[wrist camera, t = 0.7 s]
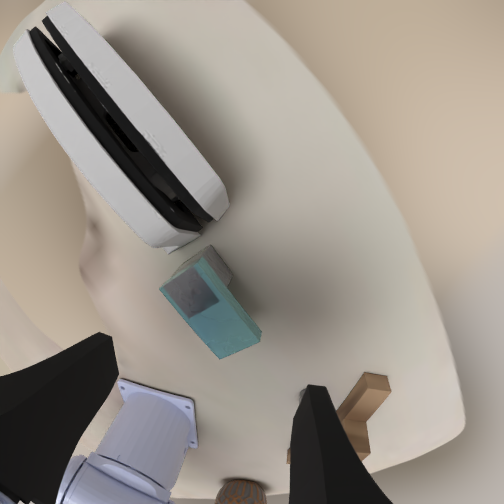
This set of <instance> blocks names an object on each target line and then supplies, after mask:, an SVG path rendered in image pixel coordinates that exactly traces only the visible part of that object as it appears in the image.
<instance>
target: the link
mask: <svg viewBox="0 0 504 504" xmlns="http://www.w3.org/2000/svg"><path fill="white" fill-rule="evenodd" d="M390 393H391V389H390V385H389V382H388V378H387V376H382V375H376V374H371V373H365V372H364V374H363V375H362V377H361V378H360V380H359V381H358V383H357V384H356V385H355V387H354V388H353V390H352V391H351V392H350V394H349V395H348V396H347V398H346V399H345V401H344V402H343V403H342V405H341V406H340V407H339V408H338V410H337V411H336V413H337V415H338V417H339V419H340V422H341V424H342V426H343V428H344V430H345V432H346V434H347V436H348V438H349V440H350V442H351V444H352V446H353V448H354V450H355V451H356V453H357V455H358V456H359V458H360V460H361V461H362V460H364V459H365V458H366V457H367V456H368V455H369V454H370V453H371V452H370V445H369V438H368V431H367V425H366V421H367V420H368V419H369V418H370V417H371V416H372V415H373V413H374V412H375V411H376V410H377V409H378V408H379V406H380V405H381V404H382V403H383V402H384V400H385V399H386V398H387V397H388V395H389V394H390ZM287 464H290V448H289V450H288V453H287Z"/></svg>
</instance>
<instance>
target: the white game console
mask: <svg viewBox="0 0 504 504" xmlns="http://www.w3.org/2000/svg"><path fill="white" fill-rule="evenodd" d="M46 14H47V15H48V16H47V17H45V18H44V19H43V20H42V22H43V24H44V26H45V27H46V29H47V31H48V32H49V34H50V35H51V37H52V38H53V40H54V41H55V43H56V44H57V45H58V47H59V48H60V50H61V51H62V52H61V51H60V50H59V49H58V48H57V47H56V46H55V45H54V44H53V43H52V42H51V41H50V40H49V39H48V38H47V37H46V36H45V35H44V34H43V33H42V32H41V31H40V30H39V29H38V28H37V27H34V28H33V29H32V30H31V31H30V30H28V29H27V30H26V31H25V32H24V33H23V35H22V36H21V37H20V38H19V40H18V41H17V42H16V44H15V45H14V46H13V52H14V57H15V61H16V65H17V67H18V70H19V73H20V75H21V78H22V80H23V82H24V85H25V87H26V89H27V91H28V93H29V95H30V96H31V99H32V101H33V102H34V104H35V106H36V107H37V109H38V111H39V112H40V114H41V116H42V117H43V119H44V121H45V122H46V124H47V125H48V127H49V128H50V130H51V131H52V133H53V135H54V136H55V137H56V139H57V140H58V142H59V143H60V145H61V146H62V147H63V149H64V150H65V151H66V153H67V154H68V155H69V157H70V158H71V159H72V161H73V162H74V163H75V165H76V166H77V167H78V168H79V170H80V171H81V172H82V174H83V175H84V176H85V177H86V179H87V180H88V181H89V182H90V184H91V185H92V186H93V187H94V189H95V190H96V191H97V192H98V193H99V194H100V195H101V197H102V198H103V199H104V200H105V201H106V202H107V203H108V204H109V206H110V207H111V208H112V209H113V210H114V211H115V212H116V213H117V214H118V215H119V216H120V218H121V219H122V220H123V221H124V222H125V223H126V224H127V225H128V226H129V227H130V228H131V229H132V230H133V231H134V232H135V233H136V234H137V235H138V236H139V237H140V238H141V239H142V240H143V241H144V242H145V243H147V244H148V245H150V246H151V247H153V248H159V247H162V248H163V249H164V250H165V251H166V253H167V254H170V253H172V252H173V251H175V250H177V249H178V248H180V247H182V246H184V245H185V244H187V243H189V242H191V241H192V240H194V239H196V238H198V237H199V236H201V235H200V234H199V233H198V231H199V230H200V229H201V228H203V227H202V226H201V225H200V223H199V222H198V221H197V220H196V219H195V217H194V216H193V215H192V214H191V213H190V211H189V210H188V209H187V208H186V207H185V206H184V205H183V204H181V203H179V202H178V203H176V204H174V202H175V201H177V200H178V199H180V200H181V201H182V202H183V203H184V204H185V205H186V206H187V207H188V208H189V209H190V210H191V211H192V212H193V213H194V214H196V215H197V216H199V217H201V218H202V219H204V220H206V221H207V222H210V221H211V220H212V219H213V218H214V219H215V220H216V221H218V220H219V219H220V218H221V216H222V215H223V214H224V213H225V211H226V210H227V209H228V207H229V206H230V204H229V200H228V196H227V192H226V188H225V186H224V184H223V182H222V181H221V179H220V178H219V177H218V175H217V174H216V173H215V171H214V170H213V169H212V168H211V166H210V165H209V164H208V162H207V161H206V160H205V159H204V157H203V156H202V155H201V153H200V152H199V151H198V150H197V148H196V147H195V146H194V144H193V143H192V142H191V141H190V139H189V138H188V137H187V136H186V134H185V133H184V132H183V131H182V129H181V128H180V127H179V126H178V124H177V123H176V122H175V121H174V119H173V118H172V117H171V116H170V115H169V113H168V112H167V111H166V110H165V109H164V107H163V106H162V105H161V104H160V102H159V101H158V100H157V99H156V98H155V96H154V95H153V94H152V93H151V92H150V90H149V89H148V88H147V87H146V86H145V85H144V83H143V82H142V81H141V80H140V79H139V77H138V76H137V75H136V74H135V73H134V72H133V70H132V69H131V68H130V67H129V66H128V65H127V64H126V63H125V61H124V60H123V59H122V58H121V57H120V56H119V55H118V54H117V52H116V51H115V50H114V49H113V48H112V47H111V46H110V45H109V44H108V42H107V41H106V40H105V39H104V38H103V37H102V36H101V35H100V34H99V33H98V32H97V31H96V29H95V28H94V27H93V26H92V25H91V24H90V23H89V22H88V21H87V20H86V19H85V18H84V17H83V16H82V15H81V14H79V13H78V12H77V11H76V10H75V9H74V8H73V7H72V6H71V5H69V4H68V3H67V2H66V1H64V2H62V3H61V4H59V5H57V6H55V7H54V8H52V9H50V10H49V11H47V12H46ZM77 74H79V76H80V77H81V78H80V79H79V80H78V79H77V78H76V77H75V76H76V75H77ZM107 113H109V114H110V116H111V117H112V118H113V119H114V121H115V122H116V123H117V124H118V126H119V127H120V128H121V129H122V131H123V132H124V133H125V134H126V136H127V137H128V138H129V139H130V140H131V142H132V143H133V144H134V145H135V146H136V148H137V149H138V150H139V152H132V151H130V150H129V149H128V148H127V147H126V146H125V144H124V143H123V142H122V141H121V139H120V138H119V137H118V136H117V134H116V133H115V132H114V131H113V129H112V128H111V126H110V125H109V124H108V122H107V118H106V116H107Z"/></svg>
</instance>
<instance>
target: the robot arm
mask: <svg viewBox="0 0 504 504" xmlns="http://www.w3.org/2000/svg"><path fill="white" fill-rule="evenodd" d="M118 375H119V371H118V366H117V361H116V356H115V351H114V346H113V340H112V337H111V336H109V335H106V334H103V333H100V332H98V333H96V334H94V335H92V336H90V337H88V338H86V339H84V340H82V341H81V342H79V343H77V344H75V345H73V346H71V347H69V348H67V349H66V350H64V351H62V352H60V353H58V354H56V355H54V356H52V357H50V358H48V359H45V360H43V361H41V362H39V363H37V364H35V365H32V366H30V367H28V368H25V369H22V370H20V371H17V372H14V373H11V374H8V375H4V376H0V504H18V502H19V501H20V500H21V501H22V502H23V503H24V504H29V503H30V501H32V502H33V503H35V504H175V503H174V502H173V501H171V500H169V498H170V495H171V492H170V490H171V489H172V488H173V486H174V485H175V483H176V480H177V478H178V475H179V472H180V469H181V467H182V464H183V461H184V458H185V456H186V453H187V450H188V447H191V448H197V447H198V439H197V431H196V421H195V411H194V402H193V401H192V400H191V399H188V398H184V397H180V396H176V395H173V394H169V393H165V392H162V391H158V390H155V389H151V388H148V387H145V386H141V385H138V384H135V383H132V382H129V381H126V380H123V379H119V380H118V386H119V389H120V392H121V395H122V398H123V401H124V404H123V406H122V408H121V409H120V411H119V413H118V414H117V416H116V417H115V419H114V421H113V422H112V424H111V426H110V427H109V429H108V431H107V432H106V434H105V436H104V438H103V439H102V441H101V443H100V444H99V446H98V448H97V449H96V451H95V453H94V452H91V454H90V455H89V457H88V459H87V457H85V456H84V455H79V456H74V457H72V458H71V456H72V454H73V452H74V450H75V448H76V445H77V443H78V441H79V440H80V438H81V436H82V434H83V433H84V431H85V430H86V428H87V427H88V425H89V424H90V422H91V421H92V419H93V418H94V416H95V415H96V413H97V412H98V410H99V409H100V407H101V406H102V405H103V403H104V402H105V400H106V399H107V397H108V395H109V394H110V392H111V390H112V388H113V386H114V384H115V382H116V380H117V377H118ZM70 458H71V459H70ZM289 504H393V503H392V502H391V501H390V500H389V499H388V498H387V496H386V495H385V494H384V493H383V492H382V490H381V489H380V488H379V486H378V485H377V484H376V483H375V481H374V480H373V478H372V477H371V476H370V474H369V473H368V471H367V470H366V468H365V466H364V465H363V463H362V462H361V460H360V458H359V456H358V455H357V453H356V451H355V450H354V448H353V446H352V444H351V442H350V440H349V438H348V436H347V434H346V432H345V430H344V428H343V426H342V424H341V422H340V419H339V417H338V415H337V413H336V410H335V408H334V405H333V403H332V401H331V398H330V395H329V393H328V390H327V388H326V387H325V386H316V385H309V384H308V386H307V388H306V391H305V393H304V395H303V398H302V400H301V402H300V405H299V407H298V409H297V412H296V414H295V416H294V418H293V426H292V434H291V442H290V495H289Z"/></svg>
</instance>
